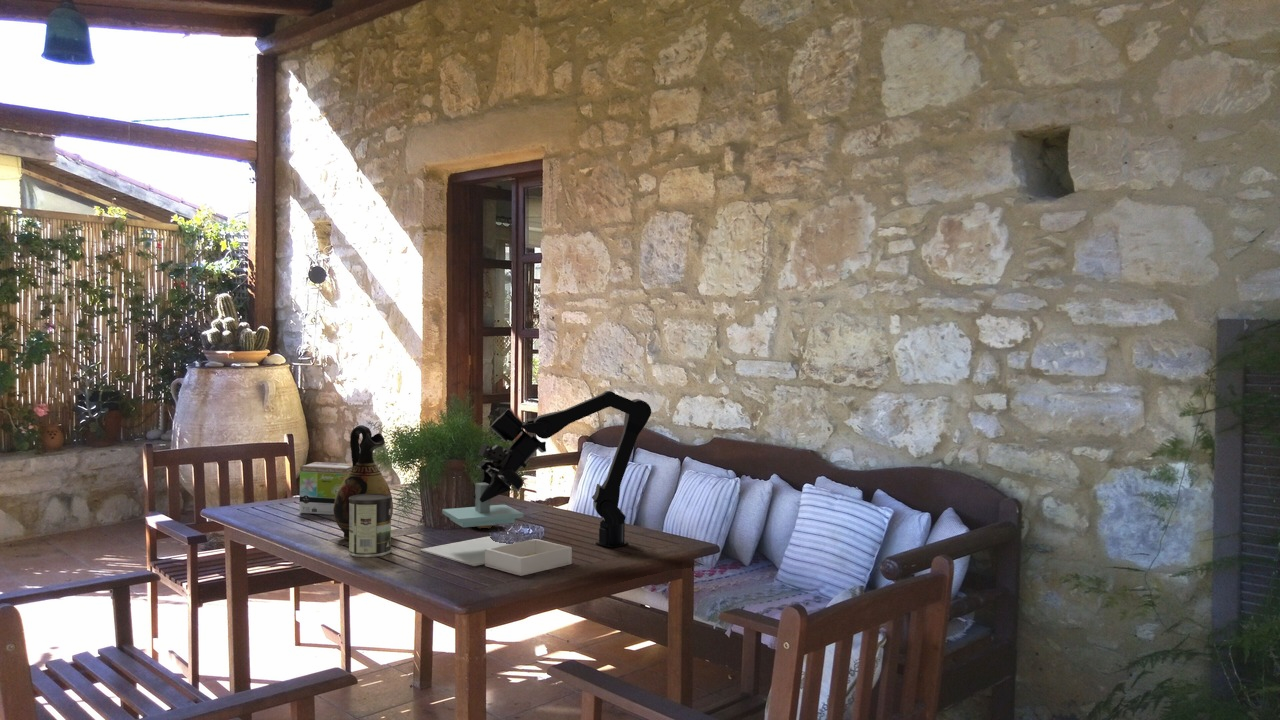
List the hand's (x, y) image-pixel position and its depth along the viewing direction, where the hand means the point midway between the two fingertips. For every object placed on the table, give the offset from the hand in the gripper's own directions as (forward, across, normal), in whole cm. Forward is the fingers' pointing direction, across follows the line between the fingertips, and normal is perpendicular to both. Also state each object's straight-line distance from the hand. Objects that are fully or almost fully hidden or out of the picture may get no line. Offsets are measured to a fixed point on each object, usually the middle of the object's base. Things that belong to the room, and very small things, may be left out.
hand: (477, 499), depth 233 cm
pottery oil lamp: (+1, -29, +18) cm, 34 cm away
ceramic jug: (+25, -29, -6) cm, 39 cm away
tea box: (+25, -69, -6) cm, 74 cm away
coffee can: (+27, -11, -8) cm, 30 cm away
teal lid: (+3, 0, +5) cm, 6 cm away
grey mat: (+8, 0, +10) cm, 13 cm away
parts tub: (+5, +18, +14) cm, 23 cm away
